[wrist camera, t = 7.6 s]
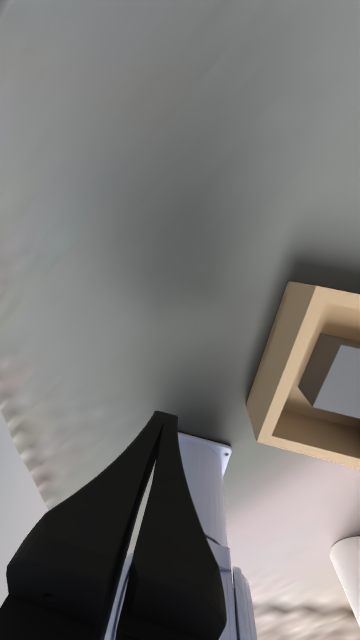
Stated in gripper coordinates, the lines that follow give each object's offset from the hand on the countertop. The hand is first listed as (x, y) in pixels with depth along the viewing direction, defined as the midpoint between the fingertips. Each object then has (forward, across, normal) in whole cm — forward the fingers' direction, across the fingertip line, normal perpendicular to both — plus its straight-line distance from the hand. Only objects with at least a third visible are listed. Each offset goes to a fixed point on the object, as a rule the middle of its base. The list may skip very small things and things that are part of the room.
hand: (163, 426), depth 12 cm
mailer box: (+10, -16, -2) cm, 19 cm away
